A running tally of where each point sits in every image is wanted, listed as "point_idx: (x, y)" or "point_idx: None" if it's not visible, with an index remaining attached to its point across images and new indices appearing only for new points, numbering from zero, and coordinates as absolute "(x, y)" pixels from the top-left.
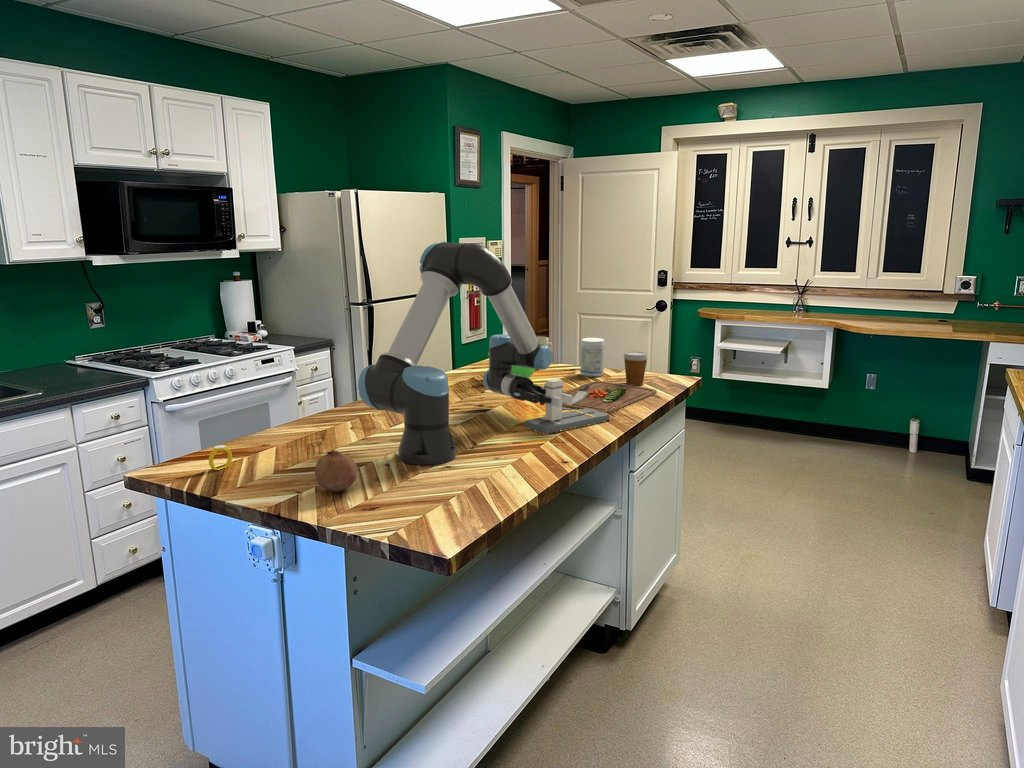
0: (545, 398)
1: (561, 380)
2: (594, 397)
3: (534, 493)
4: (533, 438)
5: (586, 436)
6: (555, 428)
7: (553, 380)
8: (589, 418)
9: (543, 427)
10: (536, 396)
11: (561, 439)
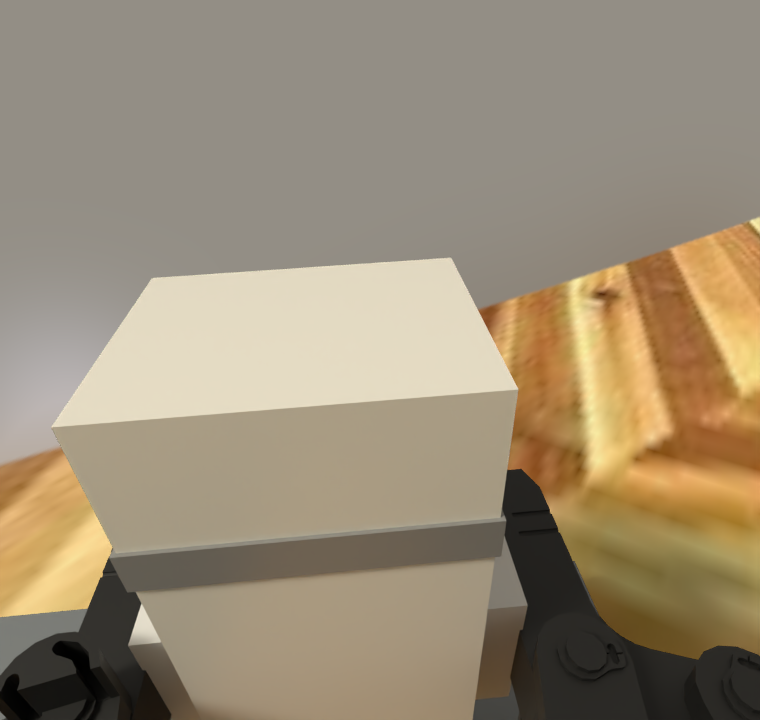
0: (555, 529)
1: (186, 276)
2: None
3: (754, 220)
4: (690, 562)
5: None
6: None
7: (332, 319)
8: (18, 623)
9: (585, 586)
10: (729, 661)
11: None
